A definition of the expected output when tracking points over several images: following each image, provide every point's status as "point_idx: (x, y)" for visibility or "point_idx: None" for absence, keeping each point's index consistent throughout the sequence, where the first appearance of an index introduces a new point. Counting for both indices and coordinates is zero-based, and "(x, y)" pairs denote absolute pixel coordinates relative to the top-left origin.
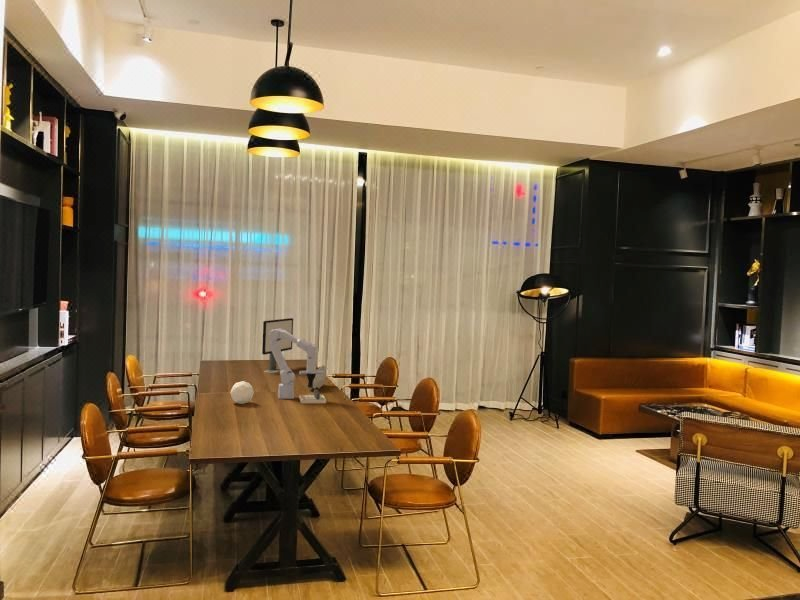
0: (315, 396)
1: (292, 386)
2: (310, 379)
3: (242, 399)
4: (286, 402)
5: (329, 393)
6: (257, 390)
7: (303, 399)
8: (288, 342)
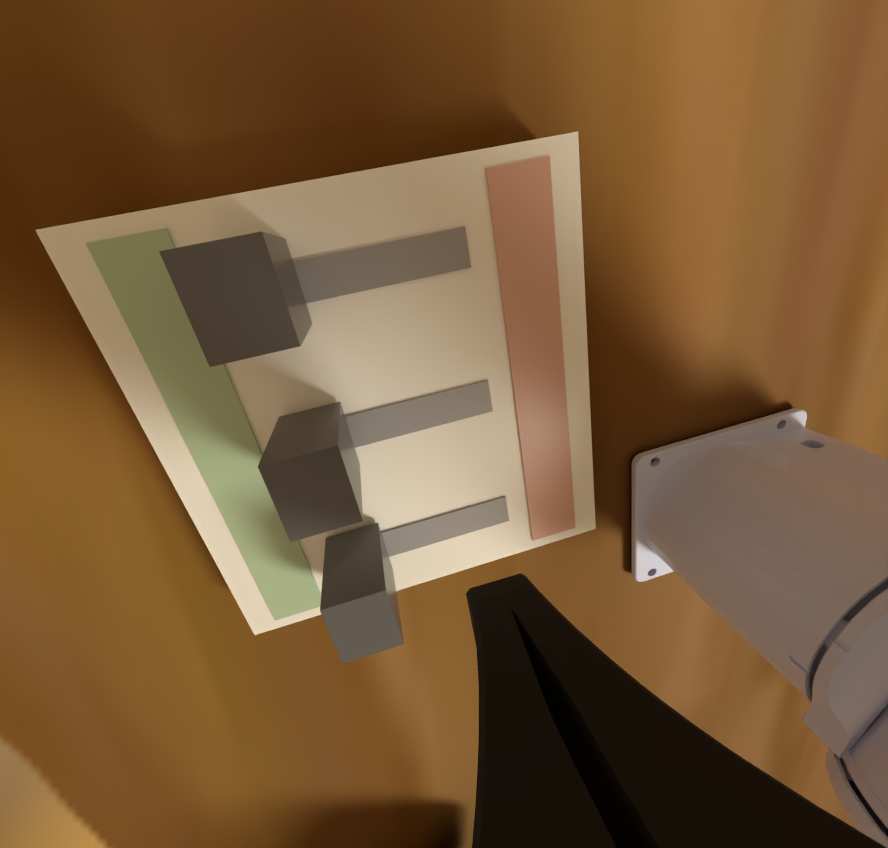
0: (334, 408)
1: (806, 579)
2: (633, 778)
3: None
4: (756, 194)
5: (248, 819)
6: None
7: (542, 181)
8: None
